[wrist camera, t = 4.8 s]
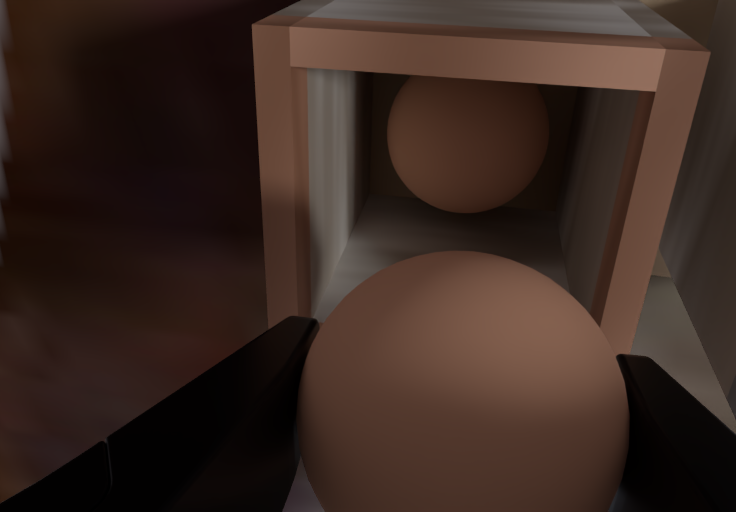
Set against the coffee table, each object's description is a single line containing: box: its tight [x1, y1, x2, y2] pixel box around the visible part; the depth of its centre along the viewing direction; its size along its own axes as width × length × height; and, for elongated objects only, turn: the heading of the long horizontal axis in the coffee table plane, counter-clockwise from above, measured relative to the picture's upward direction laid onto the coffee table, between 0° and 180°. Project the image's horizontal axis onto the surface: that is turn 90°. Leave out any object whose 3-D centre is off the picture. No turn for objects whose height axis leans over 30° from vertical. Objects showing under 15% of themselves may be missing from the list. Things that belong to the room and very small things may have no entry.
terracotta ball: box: [296, 251, 630, 512], centre depth 8 cm, size 4×4×4 cm
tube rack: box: [252, 0, 736, 419], centre depth 14 cm, size 18×9×9 cm, turn 88°
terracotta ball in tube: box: [387, 75, 549, 213], centre depth 16 cm, size 4×4×4 cm
